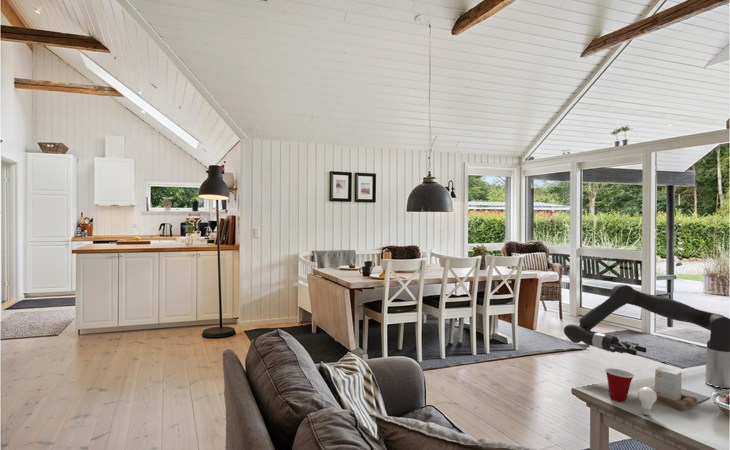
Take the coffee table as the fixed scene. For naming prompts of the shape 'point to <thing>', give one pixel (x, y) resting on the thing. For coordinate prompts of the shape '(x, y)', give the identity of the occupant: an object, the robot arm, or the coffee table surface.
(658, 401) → the holder
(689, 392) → the mat
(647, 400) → the lightbulb
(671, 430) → the coffee table surface
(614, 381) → the plastic cup
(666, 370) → the small box
